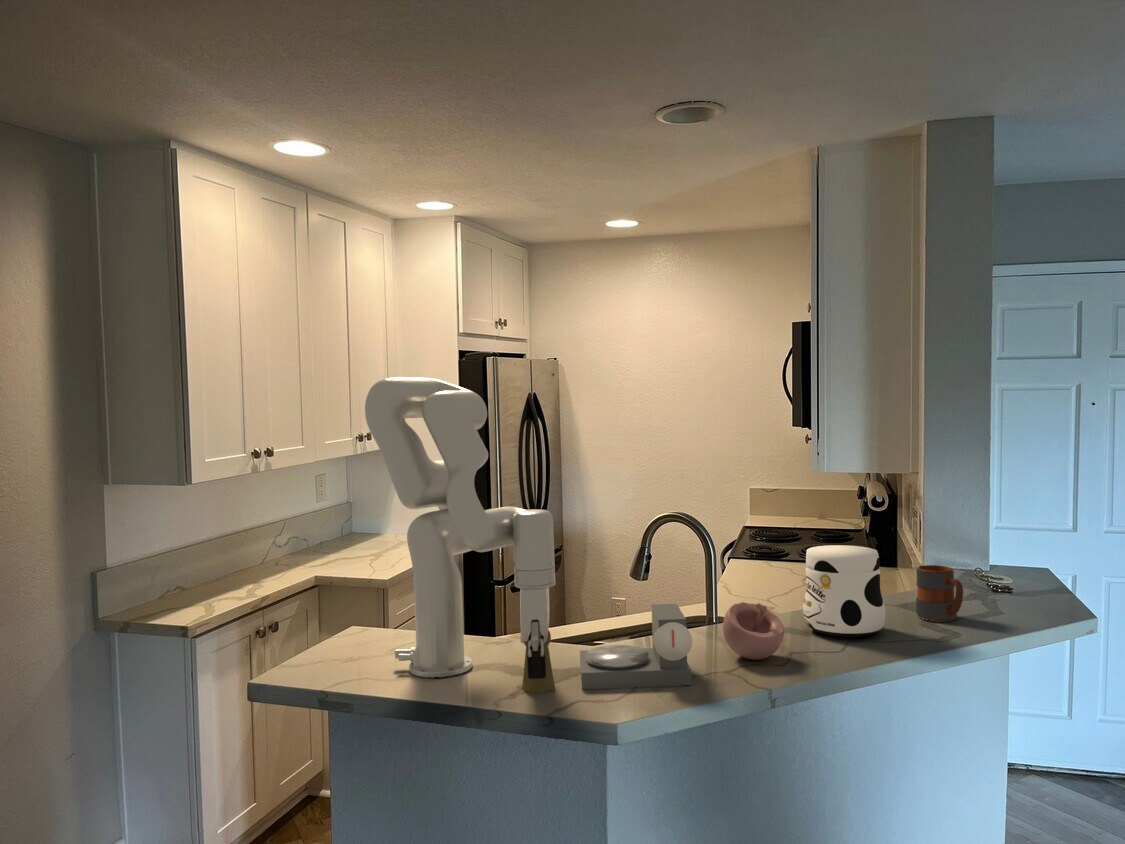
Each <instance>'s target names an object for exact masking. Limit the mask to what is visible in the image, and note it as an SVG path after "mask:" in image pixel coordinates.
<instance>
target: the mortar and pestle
mask: <svg viewBox="0 0 1125 844" xmlns="http://www.w3.org/2000/svg"><path fill="white" fill-rule="evenodd" d="M722 632H723V637H724V639H725V642H726V644H727V645H728V647H729V648H730V649H731V650H732V651H733V652H734V653H735V654H737V655H738V656H739V657H741V658H744V659H747V660H754V661H758V660H763V659H766V658H768V657H771V656H772V655H773V654H775V652H777V650H779V649H780V646H781V645H782V643H783V640H784V638H785V632H786V631H785V627H784V624H783V623H782V621H781V620H780V618H779V617H778V616H777V615H776V614H774V613H773V612H771V611H770V610H769V609H768V608H767V606H766V605H763V604H761V603H760V602H756V604H755V603H748V602H743V601H741V602H738V603H734V604H732V605H731V606H730V607H729V608H728V610H727V611H726V613H725V615H724V618H723V622H722Z"/></svg>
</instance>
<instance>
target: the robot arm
mask: <svg viewBox="0 0 1125 844" xmlns="http://www.w3.org/2000/svg"><path fill="white" fill-rule="evenodd" d="M364 403H365V404H364V416H365V420H366V424H367V427H368V430H369V432H370V433H371V437H372V438H373V439H374V441H375V443H376V445H377V447H378V449H379V451H380V454H381V456H382V459H383V461H384V464H385V465H386V469H387V471H388V475H389V477H390V479H391V482H392V485H393V487H394V490H395V494H396V495H397V498H398V499H399V500H400V503H401V504H402V505H403V506H404V507H405V508H407V509H410V510H422V509H429V508H434V507H435V508H436V507H437V508H438V509H437V510H434V511H433V510H432V511H429V512H425V513H423V514H420V515H419V516H417V517H416V518H414V519H413V521H411V523H410V524H409V526H408V528H407V533H406V540H407V541H406V542H407V548H408V551H409V555H410V556H409V557H410V560H411V565H412V575H413V594H414V620H415V621H414V622H415V646H412V647H411V648H407V649H406V648H396V649H395V650H394V658H395V660H396V659H397V660H398V661H399V662H406V661H410V663H409V664H408V670H409V672H410V673H411V675H414V676H416V677H421V678H429V677H430V678H433V679H434V677H439V678H448V677H454V676H458V675H460V674H464V673H466V672H468V671H470V669H472V667H473V659H472V658H471V657H469V656H467V655H466V654H465V642H464V641H465V639H464V638H465V637H464V636H465V635H464V634H465V631H464V609H463V604H464V603H463V583H462V575H461V572H460V569H459V567H458V565H457V563H456V561H455V558H454V556H457V555H460V554H465V553H468V552H471V551H475V552H478V553H485V552H490V551H493V550H498V549H501V548H508V547H511V546H513V566H514V567H513V571H514V574H513V575H514V587H515V588H517V589H520V591H519V593H520V594H519V614H520V616H519V618H520V619H519V620H520V623H519V624H520V642H521V644H524V642H525V641H527V640H528V656H527V661H528V678H529V679H541V678H545V677H546V661H545V655H544V643H545V642H546V641H547V638H548V630H549V629H550V628H549V627H550V588H553V587H554V586H555V585H556V567H555V566H556V563H555V540H554V539H555V538H554V536H555V535H554V517H553V514H552V513H551V511H549V510H546V509H540V508H539V509H537V508H536V509H533V508H532V509H524V508H520V507H518V506H502V507H495V508H489V509H484V507H483V506H482V504H481V501H480V500H479V498H478V494H477V492H476V487H475V478H476V477H475V476H476V474H477V471H478V470H479V469H480V468H482V467H483V466H484V465H485V463H486V462H487V461H488V458H489V452H488V449H487V448H486V445H485V444H484V441H483V439H482V437H481V436H480V433H479V432H478V430H480V429H481V428H482V427H483V426H484V425H485V423H486V420H487V418H488V409H487V405H486V403H485V401H484V399H483V398H482V397H481V396H480V395H479V394H478V393H476V392H474V391H473V390H470V389H467V388H464V387H461V386H459V385H456V384H453V383H449V382H447V381H445V380H444V381H443V380H441V379H438V378H437V379H436V378H432V377H409V376H403V377H402V376H393V377H388V378H383V379H381V380H379V381H377V382H376V383H374V384H373V385H372V386H371V387H370V389H369V391H368V393H367V394H366V398H365V402H364ZM419 418H420V419H422V418H423V421H424V423H425V426H426V428H427V429H428V432H429V434H430V435H431V438H432V440H433V442H434V444H435V446H436V448H437V451H438V453H439V455H440V456H441V458H442V460H441V459H440V460H431V459H430V457H429V455H428V454H427V451H426V448H425V446H424V444H423V441H422V440H421V437H420V436H419V435H418V433H417V432H416V431H415V430H414V429H413V428H412V427H411V425H409V424H408V423H407V421H406V419H419ZM539 638H540V639H539ZM540 644H541V646H540ZM447 676H448V677H447Z"/></svg>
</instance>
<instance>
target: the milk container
mask: <svg viewBox="0 0 1125 844" xmlns="http://www.w3.org/2000/svg"><path fill="white" fill-rule="evenodd" d="M805 552H806V554H805V566H806V567H805V577H806V578H805V579H806V586H805V587H806V590H805V595H804V599H803V602H802V612H803V613H802V615H803V618H804V622H805V624H806V625H807V627H808V628H809V629H811V630H813V631H814V632H818V633H820V634H823V635H827V636H833V637H842V638H859V637H866V636H872V635H875V634H877V633H879V632H880V631H882V630H883V628H884V626H885V621H886V613H887V612H886V606H885V602H884V599H883V596H882V591H881V570H880V566H881V564H880V563H881V562H880V556H879V553H878V550H877V549H874V548H871V547H865V546H861V545H846V544H845V545H841V544H840V545H839V544H836V545H831V544H829V545H817V546H812V547H809V548H807V549H806V551H805Z"/></svg>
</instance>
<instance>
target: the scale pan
mask: <svg viewBox="0 0 1125 844" xmlns="http://www.w3.org/2000/svg"><path fill="white" fill-rule="evenodd" d="M648 660H649V654H648V652H647V651H646V650H645V649H642V647H639V646H636V645H627V644H610V645H602V646H597V647H594V648H591V649H589V651H588V652H587V653H586V662H587V663H588V664H590V665H592V666H595V667H599V668H605V669H627V668H634V667H638V666H641V665H643V664H645V663H647V662H648Z"/></svg>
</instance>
